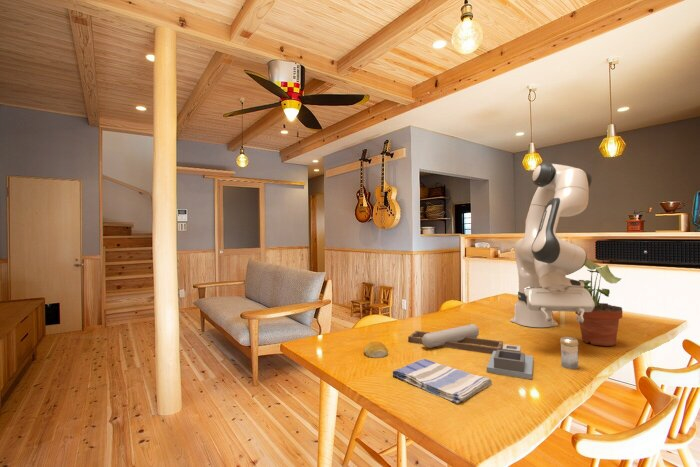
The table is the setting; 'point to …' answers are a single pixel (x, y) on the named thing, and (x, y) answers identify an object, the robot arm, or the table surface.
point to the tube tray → (485, 349)
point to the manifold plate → (511, 362)
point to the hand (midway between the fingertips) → (564, 321)
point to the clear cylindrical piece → (569, 352)
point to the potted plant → (600, 311)
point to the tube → (449, 335)
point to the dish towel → (442, 380)
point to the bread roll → (376, 350)
